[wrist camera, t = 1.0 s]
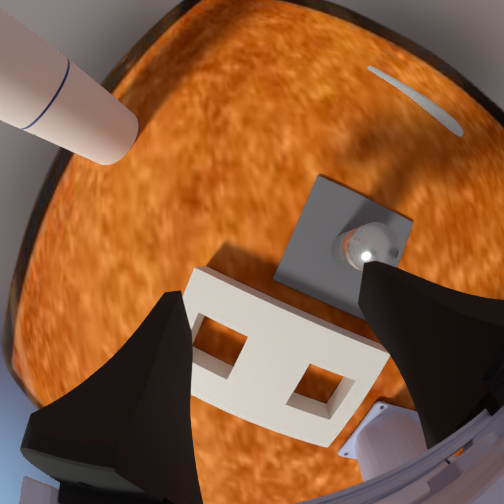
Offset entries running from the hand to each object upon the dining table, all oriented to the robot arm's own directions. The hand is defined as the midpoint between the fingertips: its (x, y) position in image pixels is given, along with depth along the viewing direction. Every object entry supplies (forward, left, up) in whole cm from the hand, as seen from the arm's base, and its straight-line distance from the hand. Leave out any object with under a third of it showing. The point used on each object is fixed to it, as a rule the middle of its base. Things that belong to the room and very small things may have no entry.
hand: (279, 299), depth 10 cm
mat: (-4, -4, -14) cm, 15 cm away
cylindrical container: (+24, -6, -14) cm, 28 cm away
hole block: (-2, +8, -14) cm, 16 cm away
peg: (-4, -4, -13) cm, 15 cm away
